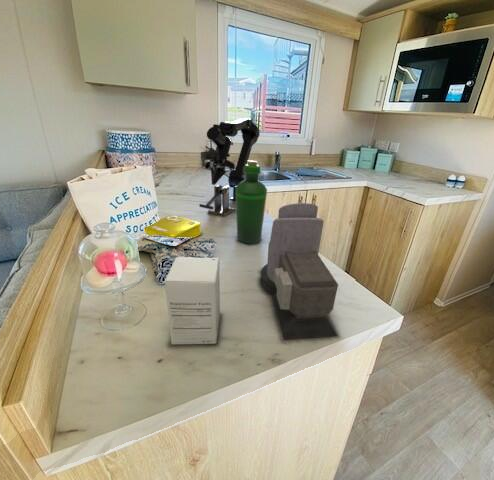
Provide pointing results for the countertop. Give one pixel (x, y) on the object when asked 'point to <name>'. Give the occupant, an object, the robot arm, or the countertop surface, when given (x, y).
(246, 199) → the bottle
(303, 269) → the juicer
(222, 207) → the tap bracket
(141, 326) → the countertop surface
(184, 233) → the element tile
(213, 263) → the white product box
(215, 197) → the tap lever
